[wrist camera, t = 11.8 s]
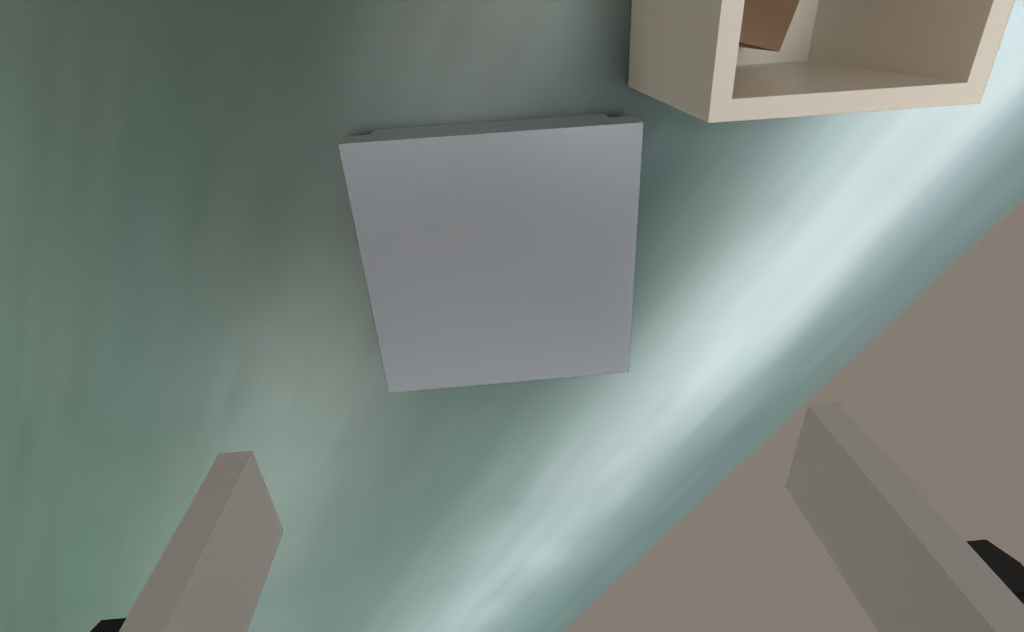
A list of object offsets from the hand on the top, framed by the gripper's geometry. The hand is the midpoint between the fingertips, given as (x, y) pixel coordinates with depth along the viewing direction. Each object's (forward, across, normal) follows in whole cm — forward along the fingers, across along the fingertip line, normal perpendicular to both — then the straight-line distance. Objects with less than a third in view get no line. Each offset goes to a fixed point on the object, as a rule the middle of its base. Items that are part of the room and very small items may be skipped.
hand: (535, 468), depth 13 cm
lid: (+14, 0, -1) cm, 14 cm away
